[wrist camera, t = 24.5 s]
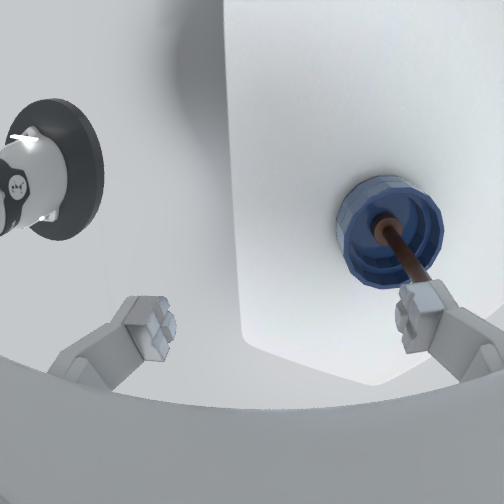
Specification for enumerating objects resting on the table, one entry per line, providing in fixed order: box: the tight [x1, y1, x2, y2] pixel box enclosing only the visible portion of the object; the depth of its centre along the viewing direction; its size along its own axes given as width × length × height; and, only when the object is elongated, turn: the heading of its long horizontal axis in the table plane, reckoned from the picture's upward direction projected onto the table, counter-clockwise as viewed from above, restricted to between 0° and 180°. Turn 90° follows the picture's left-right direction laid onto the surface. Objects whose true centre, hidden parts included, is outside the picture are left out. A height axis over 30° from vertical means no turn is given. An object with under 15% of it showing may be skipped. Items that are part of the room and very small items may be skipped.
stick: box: [370, 212, 432, 283], centre depth 30 cm, size 4×4×18 cm
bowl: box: [336, 176, 444, 289], centre depth 35 cm, size 14×14×6 cm
